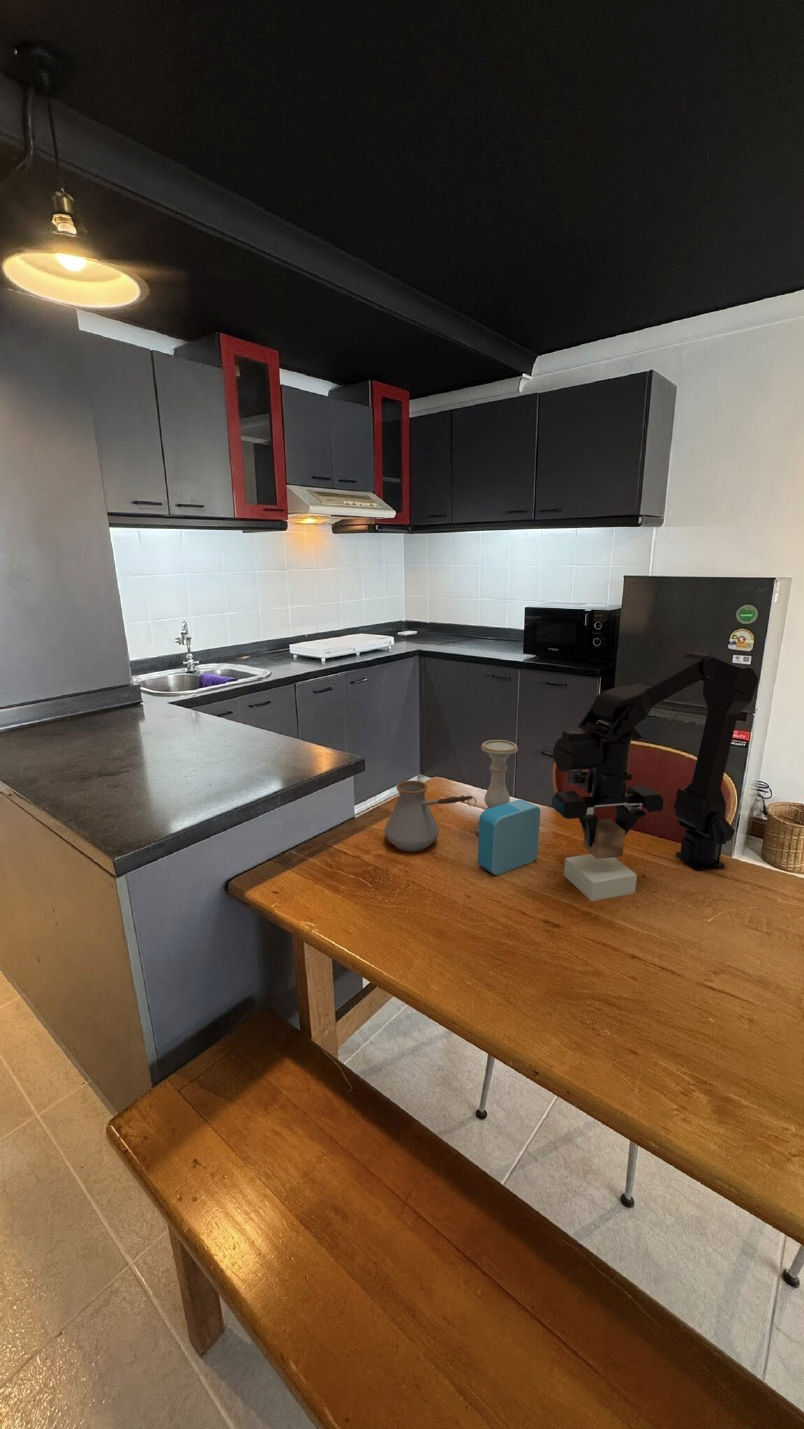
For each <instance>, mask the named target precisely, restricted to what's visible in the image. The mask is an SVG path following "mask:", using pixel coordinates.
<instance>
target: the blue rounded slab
mask: <svg viewBox="0 0 804 1429" xmlns="http://www.w3.org/2000/svg"><path fill="white" fill-rule="evenodd" d="M540 821H541V809H540V807H539V806H537V805H535V804H534V803H532V802H529V801H527V800H524V799H521V798H519V799H516V800H513V801H510V802H509V803H506V804H502V805H499V806H496V807H493V808H489V809H486V808H485V809H484V810H483V811H482V812H481V813H480V815H479V822H478V823H479V836H478V844H477V846H478V848H477V863H478V865H479V866H480V867H482V868H484V869H485V870H487V871H488V872H490V873H491V874H493V875H494V876H499V875H502V874H504V873H507V872H509V871H512V870H515V869H517V868H520V867H522V866H524V865H527V864H530V863H533V862H534V861H535V860H536V858H537V857H538V851H539V838H540V837H539V836H540V826H541V825H540V823H541V822H540Z"/></svg>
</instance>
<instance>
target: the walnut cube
mask: <svg viewBox="0 0 804 1429" xmlns="http://www.w3.org/2000/svg"><path fill="white" fill-rule="evenodd" d="M625 837H626V836H625V831H624V830H623V829H622V828H621V827H620V826H618V825H617V824H616V821H614V820H613V819H612V818H608V819H605V818H604V819H598V821H597V827H596V832H595V837H594V842H593V845H592V847H589V846H588V845H587V843H586V839H585V836H584V835H583V844H582V846H583V847H584V848H585V850H587V851H588V852H589V854H592V855H593V856H594V857H595V858H596V859H603V858H613V857H614V858H620V857H623V856H624V854H623V853H624V845H625Z"/></svg>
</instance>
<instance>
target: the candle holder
mask: <svg viewBox="0 0 804 1429" xmlns="http://www.w3.org/2000/svg"><path fill="white" fill-rule="evenodd" d="M480 748H481V750H482V751H483V753H484V752H485V753H486V754H488V756H489V757H490V759H491V761H492V763H491V765H490V766H489V770H490V771H491V778H490V779H491V780H490V784H489V787H488V788H487V790H486V792H485V794H484V799H483V800H484V804H485V805H486V807H487V808H485V810H486V809H489V808H493V807H496V806H499V805H502V804H506V803H509V802H511V798H510V797H511V796H510V794H509V791H508V789H507V786H506V778H505V776H506V775H505V774H506V772H507V771H508V766H507V765H506V762H507V759H508V758H509V757H510V755H514V754H516V753H517V752H518V750H519V747H518V745H517V744H516V743H515V742H513V741H510V740H505V739H504V740H503V739H491V740H490V739H489V740H487V741H484V742H483V743H482V744H481V747H480ZM474 829H475V830H474V831H475V834H476V835H477V836H478V837H479V822H478V823H477V824H476V825H475V828H474Z"/></svg>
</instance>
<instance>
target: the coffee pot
mask: <svg viewBox="0 0 804 1429" xmlns="http://www.w3.org/2000/svg"><path fill="white" fill-rule="evenodd" d="M395 788H396V790H397V791H398V793H399V796H398V798H397V800H396V803H395V804H394V806H393V809H392V811H391V813H390V816H389V817H388V820H387V822H386V825H385V827H384V829H383V830H384V831H383V832H384V835H385V837H386V839H387V840H388V841H389V842H390V844H392V845H394V847H395V848H396V849H399V850H401V851H404V852H418V851H422V850H425V849H427V848H428V847H429V846H431V844H433V843H434V842H435V841H436V839H437V838H438V836H439V833H440V829H439V827H438V824H437V822H436V819H435V818H434V817H435V816H434V815H433V813H432V811H431V808H430V806H433V805H434V806H435V805H446V804H447V805H448V804H456V803H458V802H462V803H464V802H465V801H467V804H468V806H469V807H472V808H473V807H475V806H476V805H477V799H476V797H473V795H466V796H465V795H463V794H462V795H460V796H450V797H446V798H440V799H439V798H438V799H435V800H427V799H426V797H425V793H426V792H427V789H428V785H427V784H426V783H425V782H423V781H420V780H405V781H401V782H399V783H397V785H396V787H395ZM473 799H474V805H471V804H470V801H471V800H473Z"/></svg>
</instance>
